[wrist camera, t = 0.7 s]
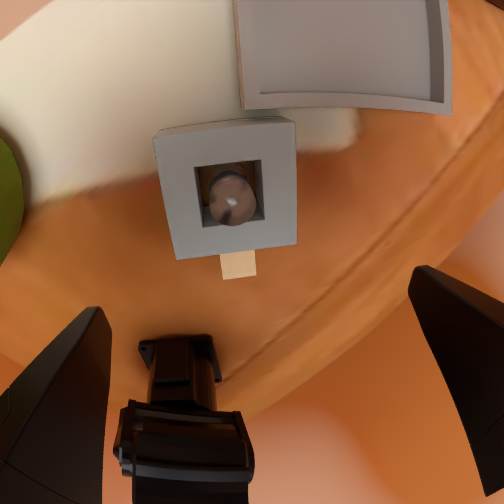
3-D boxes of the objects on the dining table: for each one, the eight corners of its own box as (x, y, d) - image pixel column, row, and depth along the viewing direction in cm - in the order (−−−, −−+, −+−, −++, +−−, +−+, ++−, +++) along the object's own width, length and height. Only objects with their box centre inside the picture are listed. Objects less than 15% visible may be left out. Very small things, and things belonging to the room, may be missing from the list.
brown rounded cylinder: (246, 191, 19) (257, 223, 15) (211, 196, 19) (212, 229, 15) (243, 158, 18) (254, 180, 14) (206, 162, 18) (206, 186, 14)
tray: (432, 111, 17) (451, 116, 15) (241, 107, 16) (245, 110, 14) (418, -51, 10) (435, -57, 8) (225, -83, 9) (228, -99, 7)
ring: (161, 129, 16) (152, 138, 14) (281, 116, 17) (294, 122, 14) (184, 258, 21) (182, 285, 18) (285, 245, 21) (296, 269, 19)
